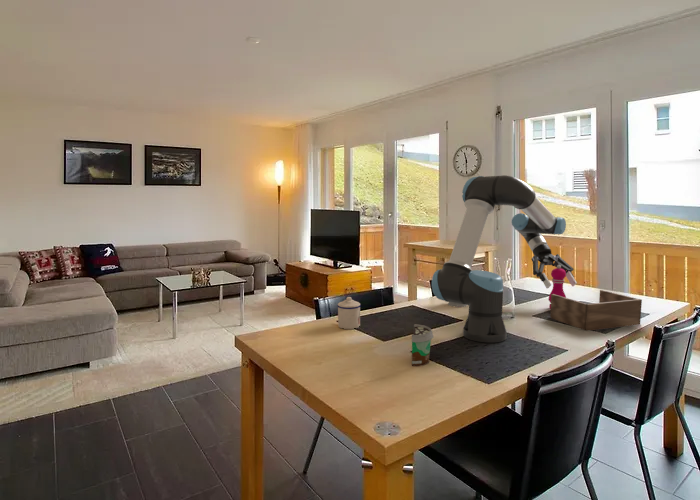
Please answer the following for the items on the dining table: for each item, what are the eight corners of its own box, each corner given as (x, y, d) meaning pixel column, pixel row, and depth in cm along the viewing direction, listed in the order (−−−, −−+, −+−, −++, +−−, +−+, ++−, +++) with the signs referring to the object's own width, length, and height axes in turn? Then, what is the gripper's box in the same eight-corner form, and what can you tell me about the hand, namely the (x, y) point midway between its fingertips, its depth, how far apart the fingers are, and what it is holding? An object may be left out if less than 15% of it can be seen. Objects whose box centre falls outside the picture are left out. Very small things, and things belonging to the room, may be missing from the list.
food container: (432, 369, 131) (432, 336, 129) (411, 368, 132) (411, 335, 131) (433, 354, 143) (433, 324, 141) (413, 353, 144) (414, 323, 143)
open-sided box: (550, 317, 184) (551, 294, 183) (600, 312, 191) (601, 289, 190) (586, 330, 166) (587, 304, 165) (640, 324, 173) (641, 299, 172)
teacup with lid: (364, 328, 172) (363, 299, 170) (341, 330, 169) (341, 301, 168) (353, 320, 183) (353, 292, 182) (332, 322, 180) (332, 294, 179)
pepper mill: (566, 308, 199) (569, 264, 197) (564, 311, 193) (566, 266, 191) (549, 306, 203) (551, 263, 201) (546, 309, 197) (548, 265, 195)
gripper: (557, 251, 213) (580, 288, 201) (513, 254, 207) (533, 292, 194) (566, 242, 208) (590, 279, 195) (521, 244, 201) (542, 282, 188)
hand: (561, 285), depth 195 cm, fingers open, 13 cm apart
